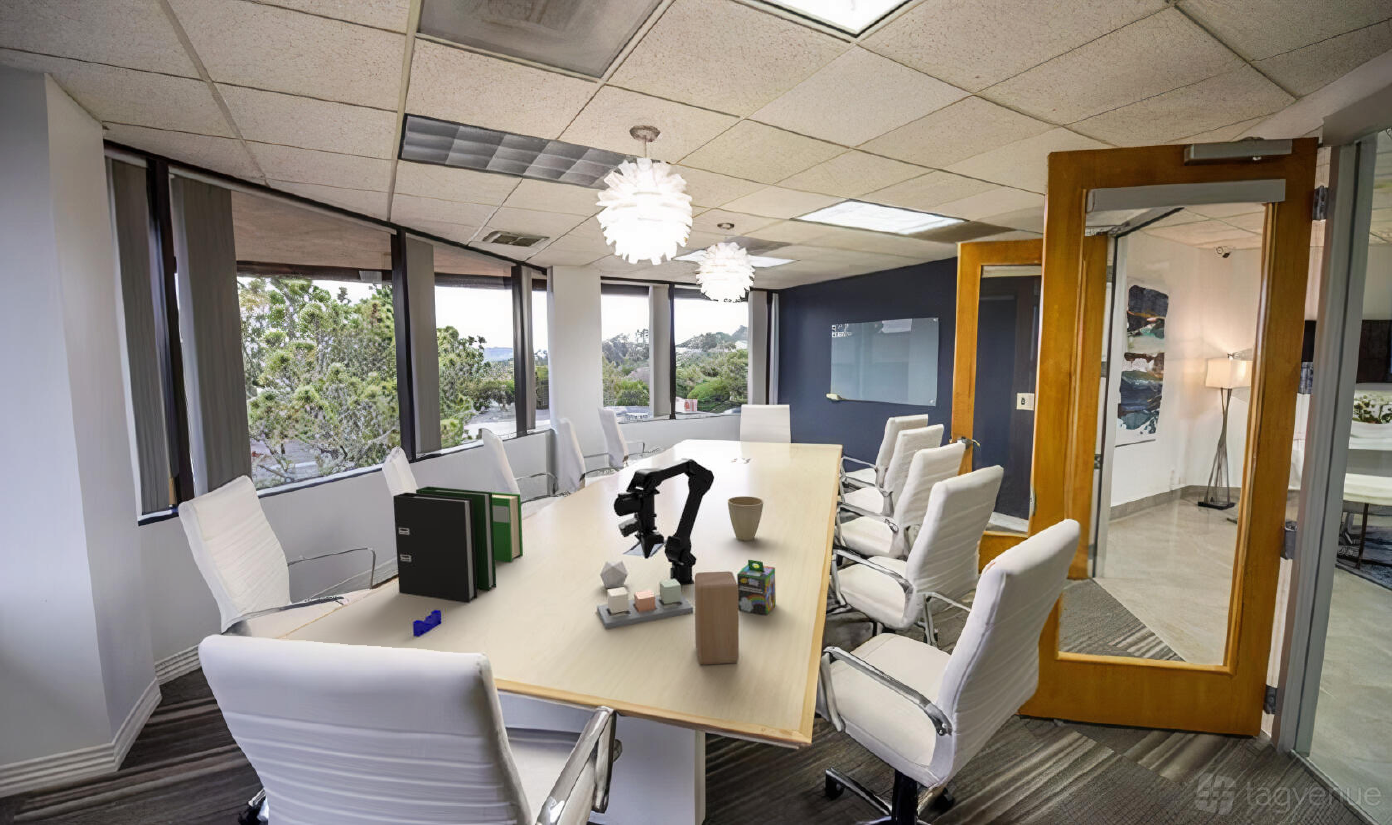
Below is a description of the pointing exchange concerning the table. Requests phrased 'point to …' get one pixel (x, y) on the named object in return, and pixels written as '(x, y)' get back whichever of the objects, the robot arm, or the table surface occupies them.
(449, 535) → the ring binders
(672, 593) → the plunger sage
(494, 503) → the hardback book
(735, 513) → the plant pot
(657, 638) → the table surface
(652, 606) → the salmon pink cube
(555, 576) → the table surface
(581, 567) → the table surface
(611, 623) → the grey slotted board
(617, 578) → the die
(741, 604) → the chalk box
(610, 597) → the plunger cream
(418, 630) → the cable holder
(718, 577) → the block
